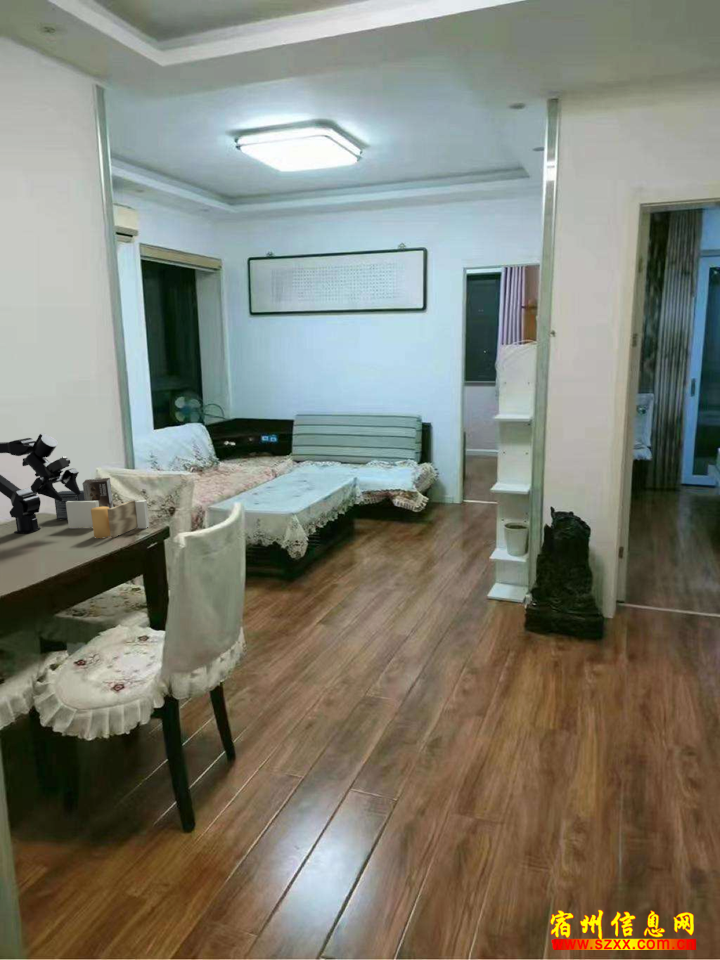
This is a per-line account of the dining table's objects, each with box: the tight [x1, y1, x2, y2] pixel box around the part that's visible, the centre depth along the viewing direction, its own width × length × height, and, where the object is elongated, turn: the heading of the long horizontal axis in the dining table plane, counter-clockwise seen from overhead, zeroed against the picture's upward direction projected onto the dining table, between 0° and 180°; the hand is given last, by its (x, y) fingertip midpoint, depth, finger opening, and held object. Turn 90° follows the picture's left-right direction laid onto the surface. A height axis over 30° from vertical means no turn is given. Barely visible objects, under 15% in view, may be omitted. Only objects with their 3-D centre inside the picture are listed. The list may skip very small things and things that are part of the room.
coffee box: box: [82, 477, 114, 509], centre depth 255 cm, size 9×6×16 cm
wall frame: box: [66, 499, 150, 529], centre depth 246 cm, size 30×2×10 cm, turn 83°
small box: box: [54, 490, 85, 521], centre depth 263 cm, size 11×6×10 cm, turn 84°
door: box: [107, 499, 138, 538], centre depth 238 cm, size 14×2×10 cm, turn 163°
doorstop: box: [91, 507, 111, 539], centre depth 235 cm, size 6×6×10 cm
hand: (71, 497), depth 237 cm, fingers open, 9 cm apart
